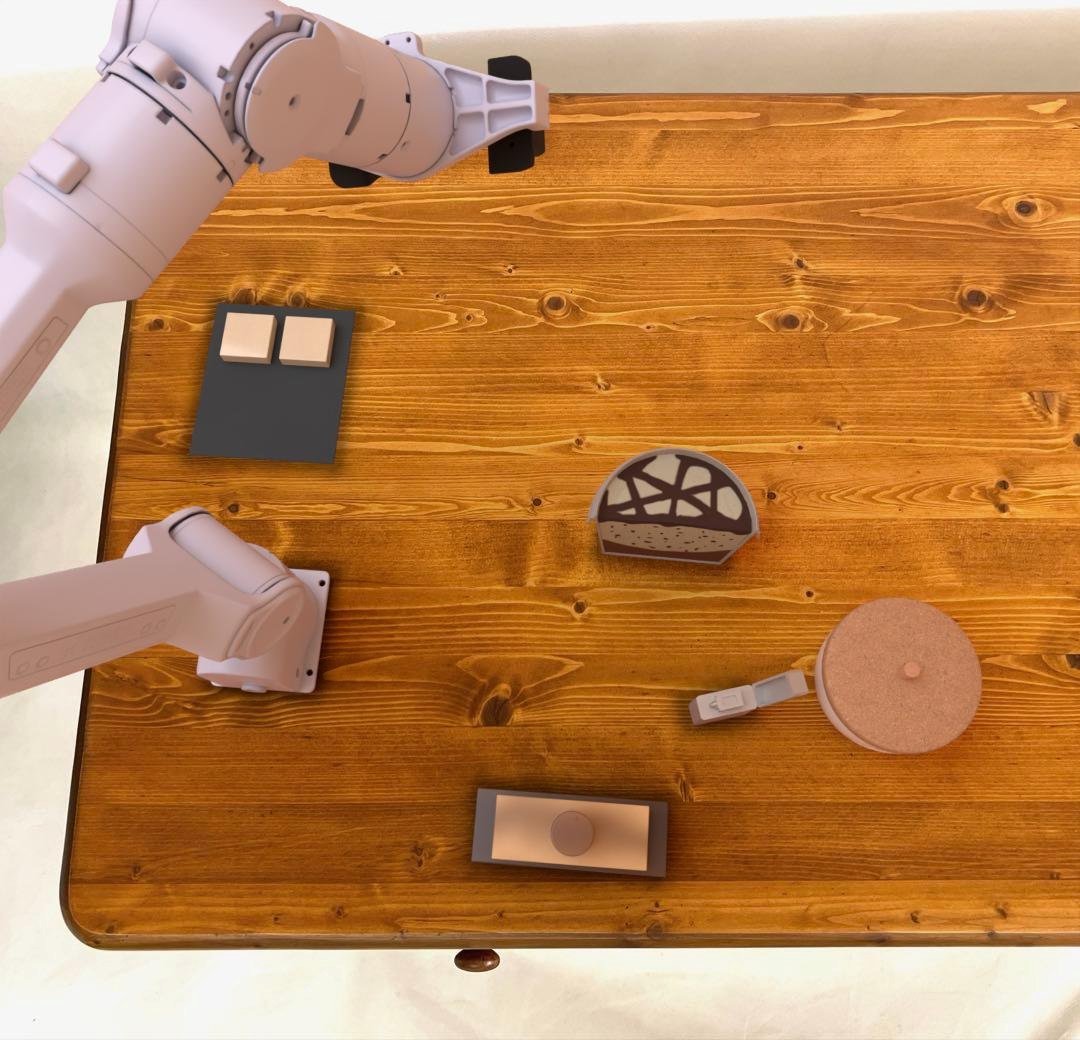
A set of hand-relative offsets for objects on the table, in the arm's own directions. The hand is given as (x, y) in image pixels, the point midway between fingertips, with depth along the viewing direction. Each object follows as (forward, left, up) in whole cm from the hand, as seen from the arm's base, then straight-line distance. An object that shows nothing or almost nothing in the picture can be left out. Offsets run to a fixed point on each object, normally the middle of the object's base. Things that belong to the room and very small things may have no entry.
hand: (478, 142), depth 58 cm
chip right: (-1, +16, -26) cm, 30 cm away
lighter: (-29, -20, -26) cm, 44 cm away
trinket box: (-27, -30, -26) cm, 48 cm away
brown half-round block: (-15, -14, -26) cm, 33 cm away
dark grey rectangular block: (-39, -8, -26) cm, 47 cm away
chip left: (-1, +21, -26) cm, 33 cm away
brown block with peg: (-39, -8, -20) cm, 44 cm away
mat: (-5, +19, -26) cm, 32 cm away
